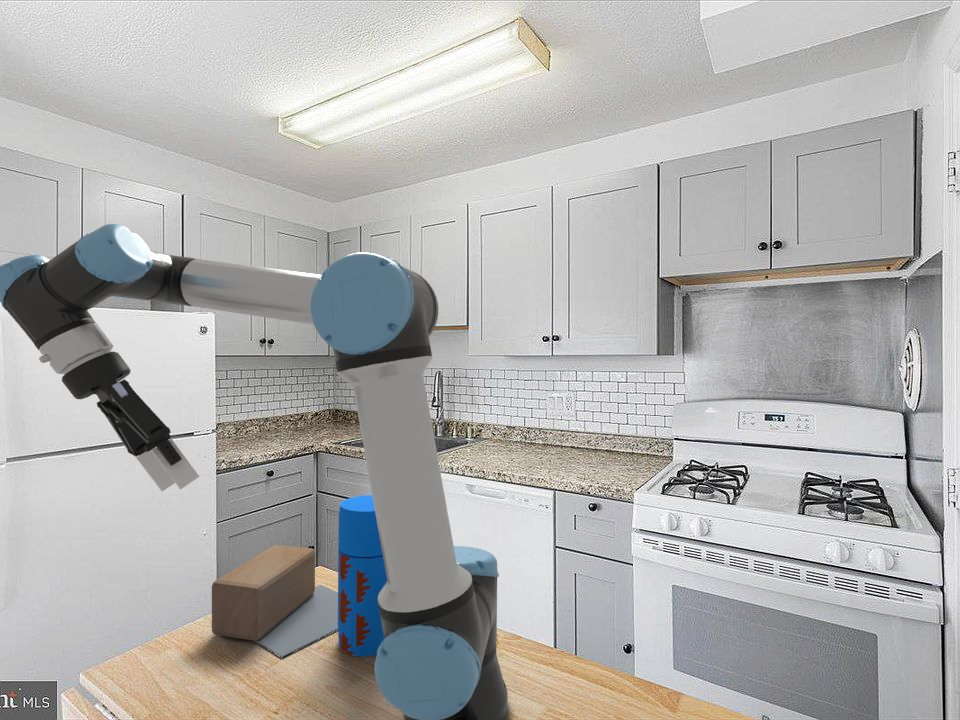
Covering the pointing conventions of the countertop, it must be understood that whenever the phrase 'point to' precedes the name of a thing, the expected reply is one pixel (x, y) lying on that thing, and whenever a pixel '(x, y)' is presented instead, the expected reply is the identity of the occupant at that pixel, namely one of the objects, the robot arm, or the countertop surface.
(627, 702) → the countertop surface
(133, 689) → the countertop surface
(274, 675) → the countertop surface
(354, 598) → the thermos
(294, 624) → the mat
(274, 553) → the block
